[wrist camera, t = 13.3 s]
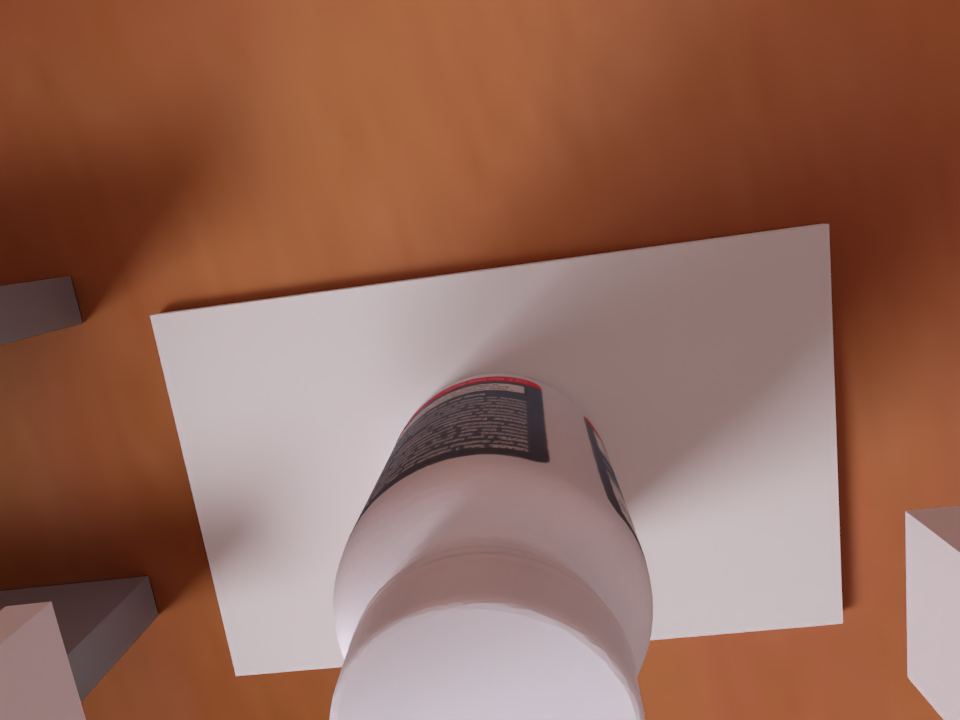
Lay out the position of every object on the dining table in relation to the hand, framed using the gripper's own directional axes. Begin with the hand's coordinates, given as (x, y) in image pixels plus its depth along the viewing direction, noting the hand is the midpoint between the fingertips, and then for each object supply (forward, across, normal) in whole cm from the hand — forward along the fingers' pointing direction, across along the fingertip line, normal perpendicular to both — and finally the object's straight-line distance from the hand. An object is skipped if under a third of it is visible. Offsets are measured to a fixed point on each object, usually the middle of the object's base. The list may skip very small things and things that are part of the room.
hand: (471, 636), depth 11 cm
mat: (+7, 0, 0) cm, 7 cm away
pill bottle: (+7, 0, 0) cm, 7 cm away
